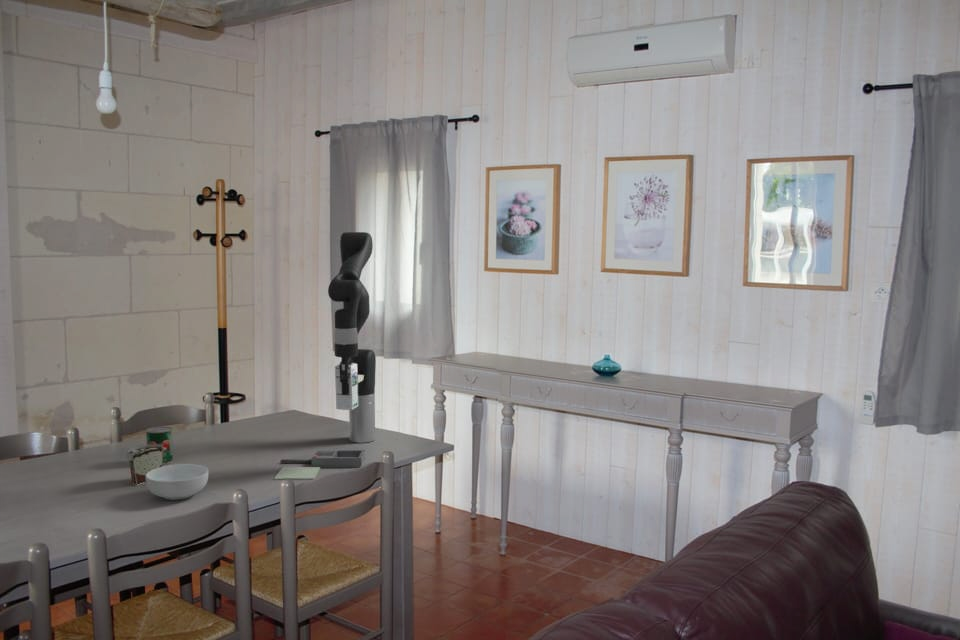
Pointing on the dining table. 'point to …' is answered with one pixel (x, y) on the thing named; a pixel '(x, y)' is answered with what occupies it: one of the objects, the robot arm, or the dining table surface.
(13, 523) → the dining table surface
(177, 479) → the cereal bowl
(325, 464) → the rectangular frying pan
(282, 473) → the sage mat
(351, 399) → the syrup box
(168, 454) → the canned tomato
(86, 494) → the dining table surface
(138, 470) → the slice of cake
